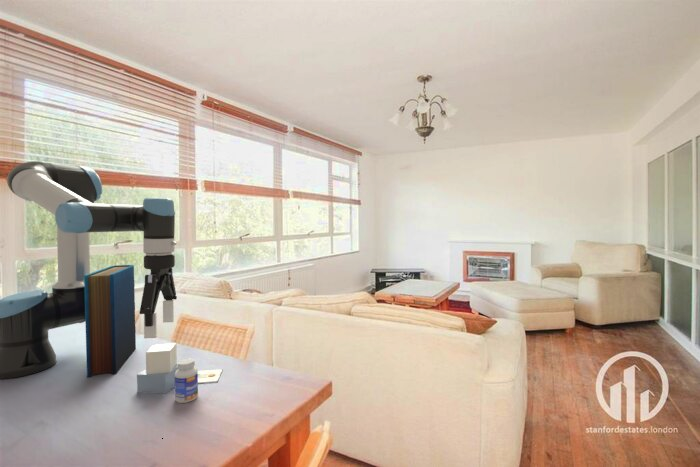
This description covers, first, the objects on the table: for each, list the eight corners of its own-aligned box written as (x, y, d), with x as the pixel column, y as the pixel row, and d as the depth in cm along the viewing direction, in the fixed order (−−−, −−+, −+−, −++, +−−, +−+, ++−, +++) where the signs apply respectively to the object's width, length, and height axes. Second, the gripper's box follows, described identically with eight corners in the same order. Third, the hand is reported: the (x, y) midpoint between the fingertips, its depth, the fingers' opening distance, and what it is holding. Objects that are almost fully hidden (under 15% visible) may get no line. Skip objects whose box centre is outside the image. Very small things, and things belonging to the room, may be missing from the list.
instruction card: (179, 384, 97) (179, 383, 97) (187, 372, 105) (187, 371, 105) (217, 382, 99) (217, 380, 99) (222, 370, 107) (222, 368, 106)
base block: (137, 392, 93) (137, 374, 93) (157, 379, 101) (156, 362, 101) (165, 394, 92) (164, 375, 92) (182, 380, 100) (182, 363, 100)
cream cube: (146, 374, 93) (145, 352, 93) (154, 365, 99) (153, 344, 99) (170, 372, 94) (170, 350, 94) (176, 363, 100) (176, 342, 100)
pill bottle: (189, 404, 87) (188, 366, 86) (170, 402, 88) (169, 364, 87) (202, 394, 92) (201, 358, 91) (184, 392, 93) (183, 356, 93)
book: (110, 349, 124) (107, 265, 123) (138, 346, 127) (136, 264, 125) (81, 378, 101) (77, 275, 100) (116, 374, 104) (113, 274, 103)
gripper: (157, 259, 84) (157, 345, 85) (186, 249, 109) (187, 316, 110) (123, 259, 83) (124, 346, 84) (161, 249, 107) (161, 317, 108)
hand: (159, 329), depth 97 cm, fingers open, 13 cm apart
